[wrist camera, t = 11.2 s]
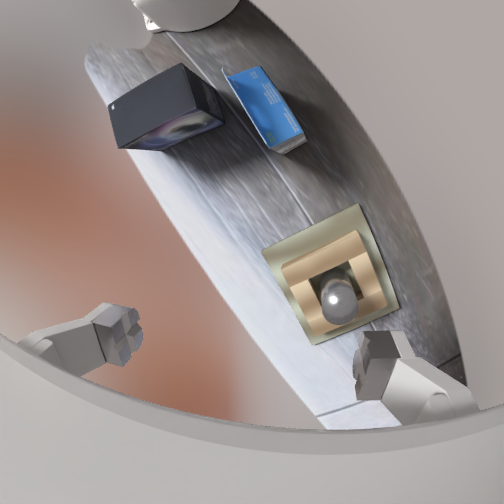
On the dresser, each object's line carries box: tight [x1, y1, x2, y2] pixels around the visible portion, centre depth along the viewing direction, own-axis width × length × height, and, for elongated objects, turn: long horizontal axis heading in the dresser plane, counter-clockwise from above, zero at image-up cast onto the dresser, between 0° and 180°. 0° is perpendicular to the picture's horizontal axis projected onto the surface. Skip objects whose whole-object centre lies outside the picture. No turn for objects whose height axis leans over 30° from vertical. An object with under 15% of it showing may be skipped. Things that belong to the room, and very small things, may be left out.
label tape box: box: [222, 66, 307, 155], centre depth 26 cm, size 9×4×12 cm, turn 29°
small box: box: [108, 63, 225, 151], centre depth 30 cm, size 11×6×10 cm, turn 108°
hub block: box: [261, 203, 399, 345], centre depth 35 cm, size 16×14×3 cm
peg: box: [320, 267, 359, 325], centre depth 32 cm, size 4×4×8 cm
